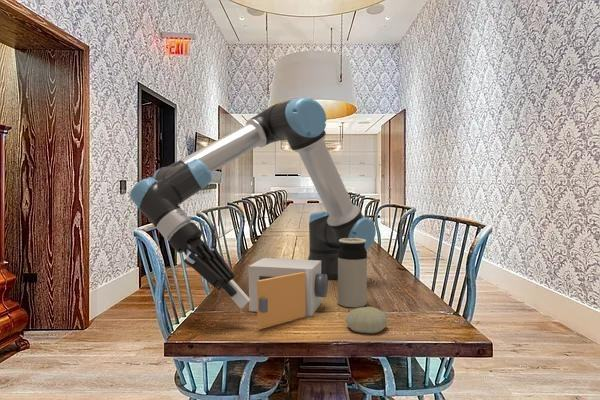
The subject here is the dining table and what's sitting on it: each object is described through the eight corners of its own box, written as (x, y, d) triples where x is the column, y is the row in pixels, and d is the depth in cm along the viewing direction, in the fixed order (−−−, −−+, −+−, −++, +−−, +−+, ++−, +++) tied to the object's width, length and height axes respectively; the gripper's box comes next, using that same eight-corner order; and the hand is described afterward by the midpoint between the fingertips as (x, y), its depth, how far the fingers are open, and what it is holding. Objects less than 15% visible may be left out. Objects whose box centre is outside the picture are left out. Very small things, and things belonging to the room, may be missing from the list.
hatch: (302, 315, 110) (302, 271, 110) (309, 317, 108) (309, 273, 108) (257, 327, 101) (257, 280, 100) (263, 330, 99) (263, 282, 99)
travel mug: (359, 310, 116) (359, 242, 115) (332, 305, 120) (332, 240, 119) (371, 302, 123) (371, 239, 122) (345, 298, 127) (345, 237, 126)
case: (329, 303, 122) (329, 260, 121) (320, 318, 109) (320, 270, 109) (263, 298, 127) (263, 257, 126) (247, 312, 114) (246, 267, 113)
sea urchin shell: (339, 315, 106) (362, 291, 106) (362, 337, 107) (384, 313, 107) (346, 328, 97) (372, 302, 97) (371, 351, 98) (396, 326, 98)
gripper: (176, 223, 99) (246, 301, 95) (202, 218, 111) (265, 287, 108) (155, 246, 100) (223, 323, 97) (184, 238, 113) (245, 306, 110)
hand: (245, 304), depth 102 cm, fingers closed
